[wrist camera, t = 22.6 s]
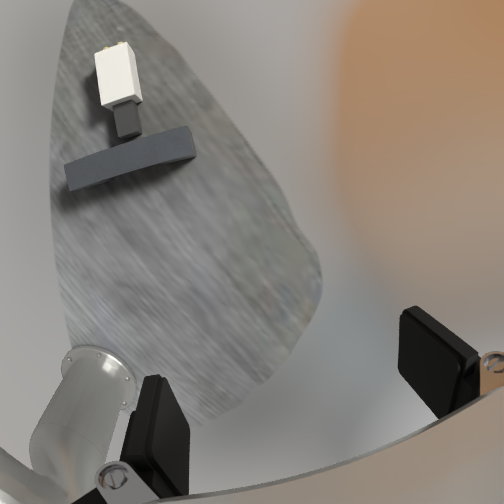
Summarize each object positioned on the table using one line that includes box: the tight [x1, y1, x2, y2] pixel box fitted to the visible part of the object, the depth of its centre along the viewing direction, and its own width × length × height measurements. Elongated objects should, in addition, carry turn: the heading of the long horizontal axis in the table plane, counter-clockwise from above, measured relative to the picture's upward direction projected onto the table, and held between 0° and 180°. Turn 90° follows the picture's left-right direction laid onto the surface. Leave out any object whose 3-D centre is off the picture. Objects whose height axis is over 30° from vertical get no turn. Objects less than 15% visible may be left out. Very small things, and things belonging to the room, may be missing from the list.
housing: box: [64, 126, 197, 192], centre depth 32 cm, size 3×14×6 cm, turn 102°
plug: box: [95, 41, 142, 139], centre depth 30 cm, size 12×4×4 cm, turn 12°
